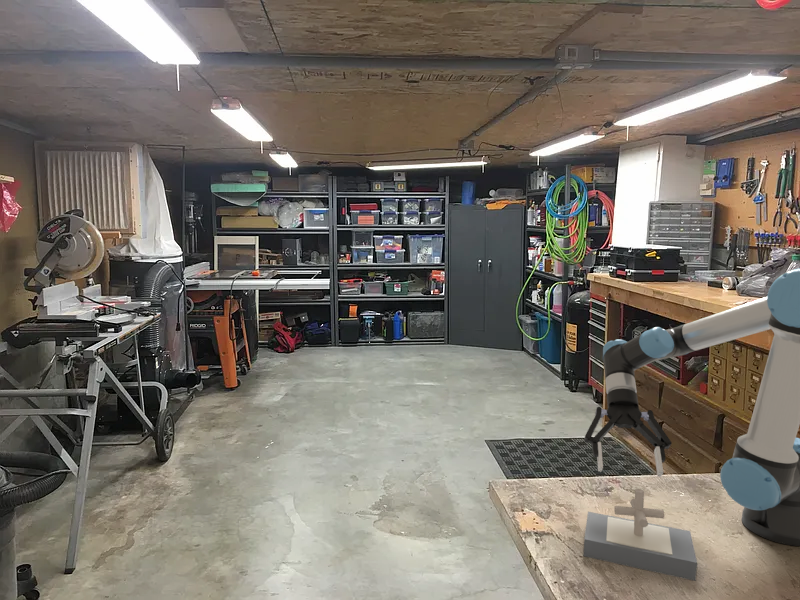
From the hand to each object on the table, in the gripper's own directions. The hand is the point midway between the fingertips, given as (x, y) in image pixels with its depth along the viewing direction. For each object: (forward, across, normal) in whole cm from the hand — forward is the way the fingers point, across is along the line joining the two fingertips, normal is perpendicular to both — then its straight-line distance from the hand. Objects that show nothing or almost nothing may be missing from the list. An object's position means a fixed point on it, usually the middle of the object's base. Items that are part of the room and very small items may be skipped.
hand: (630, 472), depth 133 cm
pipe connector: (+15, 0, +2) cm, 15 cm away
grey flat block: (+18, 0, -1) cm, 18 cm away
